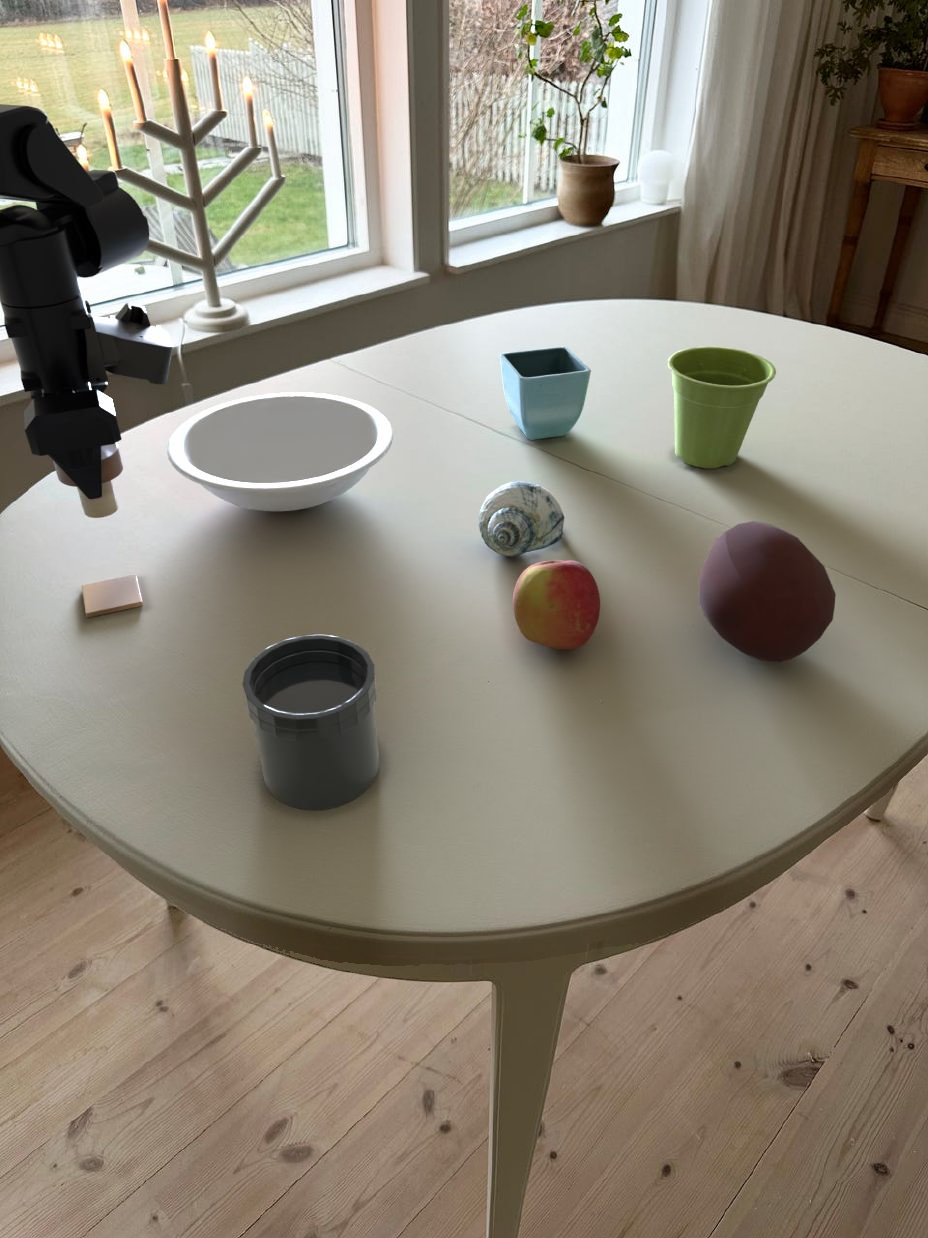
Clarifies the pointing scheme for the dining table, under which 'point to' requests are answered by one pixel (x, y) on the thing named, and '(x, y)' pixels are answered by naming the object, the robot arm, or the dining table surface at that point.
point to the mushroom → (109, 471)
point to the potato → (765, 592)
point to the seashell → (520, 519)
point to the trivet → (111, 595)
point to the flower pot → (544, 390)
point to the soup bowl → (281, 449)
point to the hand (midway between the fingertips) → (92, 483)
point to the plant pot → (715, 401)
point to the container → (314, 720)
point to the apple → (557, 604)
